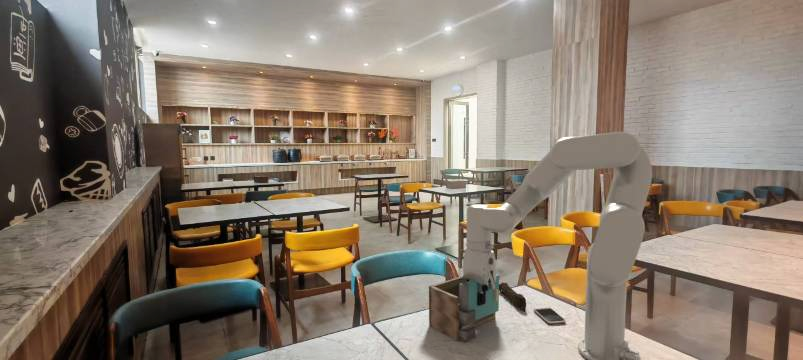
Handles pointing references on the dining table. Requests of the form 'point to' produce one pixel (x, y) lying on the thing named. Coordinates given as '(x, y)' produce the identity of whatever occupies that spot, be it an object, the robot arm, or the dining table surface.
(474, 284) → the door
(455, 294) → the cabinet
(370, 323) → the dining table surface
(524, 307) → the hand tool
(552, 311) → the cell phone
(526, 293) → the dining table surface
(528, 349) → the dining table surface
